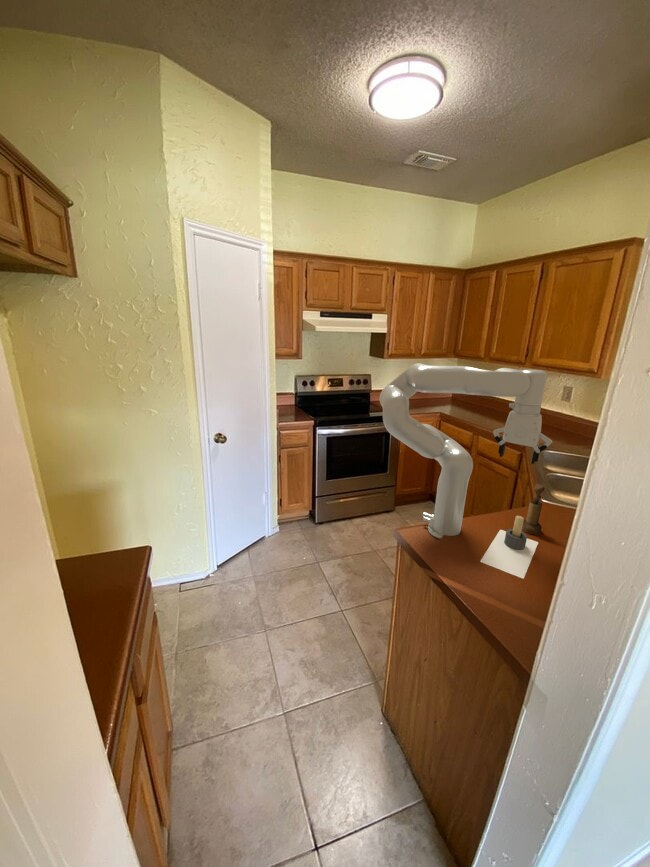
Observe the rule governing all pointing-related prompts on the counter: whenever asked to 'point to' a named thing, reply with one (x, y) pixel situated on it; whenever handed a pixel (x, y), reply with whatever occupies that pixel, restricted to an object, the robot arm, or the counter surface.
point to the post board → (510, 552)
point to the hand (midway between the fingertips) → (517, 459)
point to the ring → (515, 540)
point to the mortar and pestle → (534, 513)
